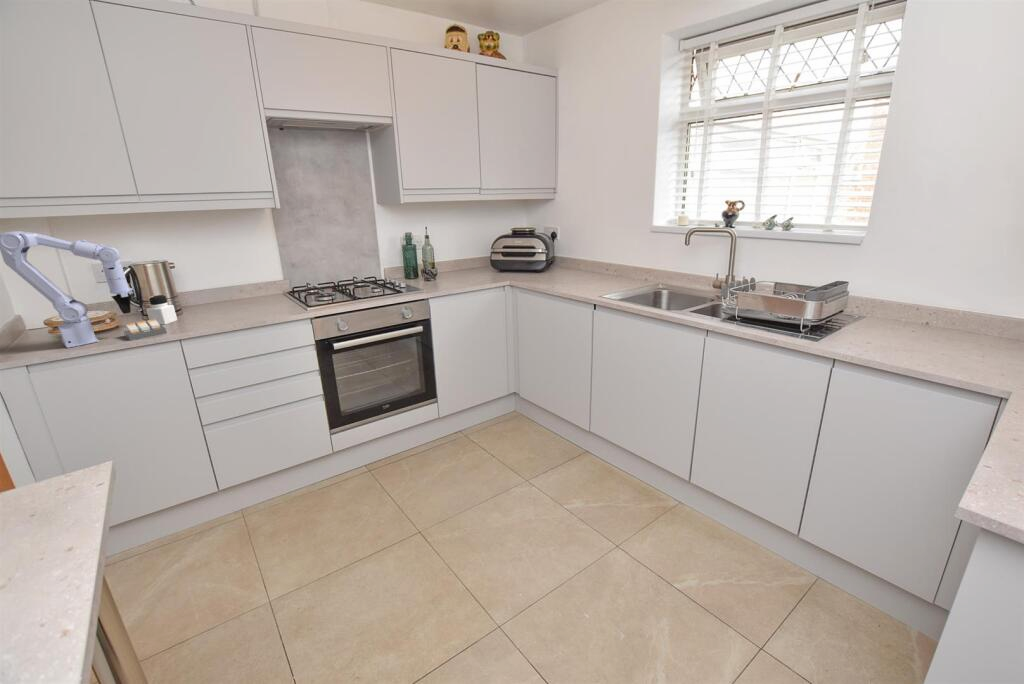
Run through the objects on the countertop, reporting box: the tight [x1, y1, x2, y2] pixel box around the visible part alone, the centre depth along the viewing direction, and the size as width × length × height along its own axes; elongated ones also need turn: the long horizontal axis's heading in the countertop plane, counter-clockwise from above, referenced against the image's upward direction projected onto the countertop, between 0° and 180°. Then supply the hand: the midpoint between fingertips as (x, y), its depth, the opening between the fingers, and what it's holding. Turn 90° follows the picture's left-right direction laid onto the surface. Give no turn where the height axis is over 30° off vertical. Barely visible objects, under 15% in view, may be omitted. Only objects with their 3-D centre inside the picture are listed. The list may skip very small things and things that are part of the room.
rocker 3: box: [146, 319, 160, 329], centre depth 190 cm, size 3×6×1 cm, turn 48°
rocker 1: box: [125, 322, 139, 333], centre depth 185 cm, size 3×6×1 cm, turn 48°
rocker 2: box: [136, 320, 150, 331], centre depth 188 cm, size 3×6×1 cm, turn 48°
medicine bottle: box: [146, 294, 178, 326], centre depth 205 cm, size 7×7×12 cm
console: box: [122, 325, 168, 341], centre depth 189 cm, size 12×10×2 cm
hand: (126, 312), depth 185 cm, fingers closed
